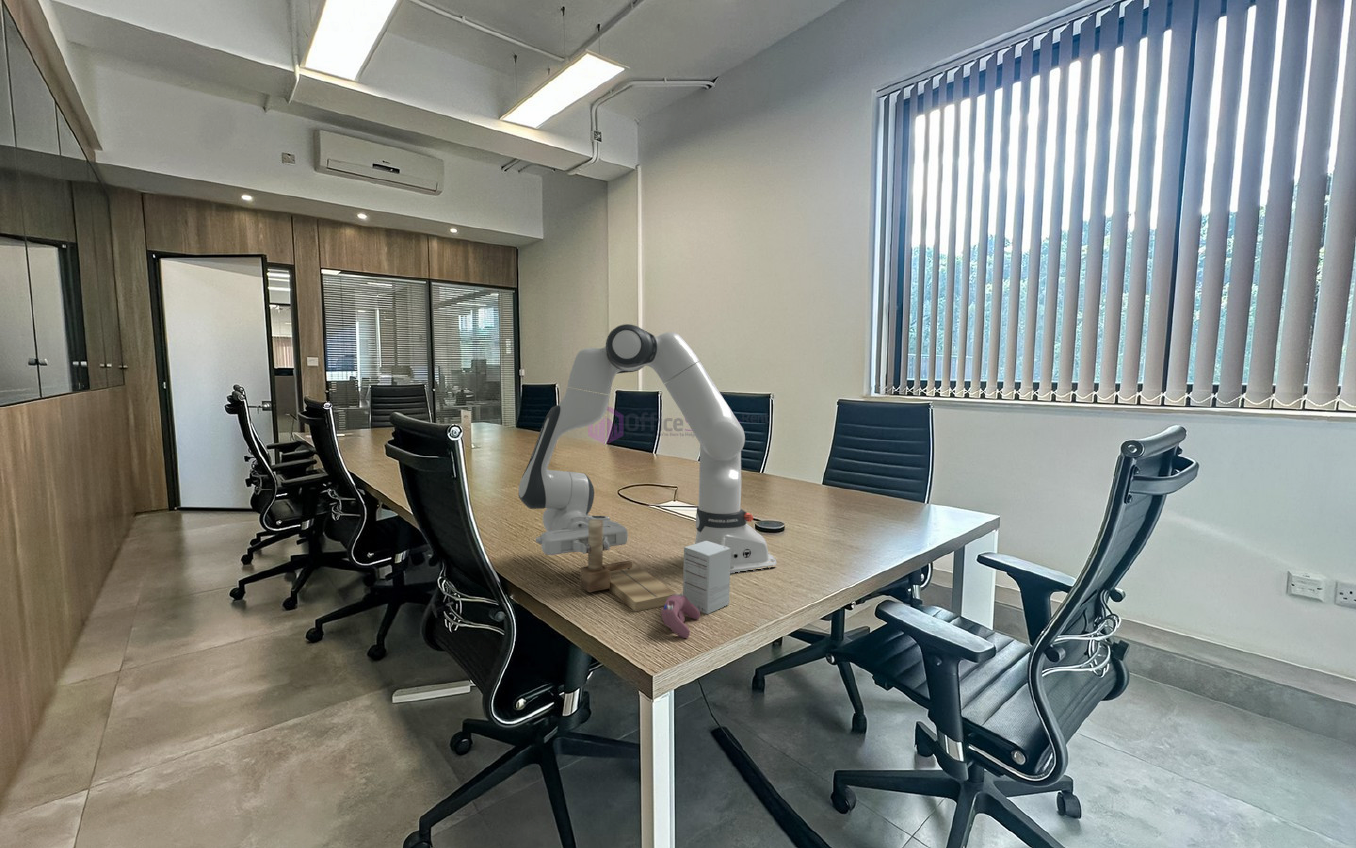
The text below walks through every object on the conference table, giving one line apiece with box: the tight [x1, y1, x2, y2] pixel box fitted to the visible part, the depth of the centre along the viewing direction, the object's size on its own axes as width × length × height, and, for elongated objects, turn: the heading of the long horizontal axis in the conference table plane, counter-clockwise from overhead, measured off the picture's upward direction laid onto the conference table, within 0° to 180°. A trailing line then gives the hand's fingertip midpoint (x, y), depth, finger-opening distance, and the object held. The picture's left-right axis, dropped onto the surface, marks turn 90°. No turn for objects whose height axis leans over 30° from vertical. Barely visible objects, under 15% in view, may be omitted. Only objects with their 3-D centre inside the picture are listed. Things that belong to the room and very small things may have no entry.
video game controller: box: [660, 592, 701, 639], centre depth 106 cm, size 10×5×7 cm, turn 164°
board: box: [607, 562, 678, 613], centre depth 124 cm, size 22×10×2 cm, turn 31°
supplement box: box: [682, 541, 731, 615], centre depth 116 cm, size 7×7×13 cm
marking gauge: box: [580, 519, 633, 593], centre depth 123 cm, size 11×5×15 cm, turn 120°
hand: (597, 548), depth 121 cm, fingers closed on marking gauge, 3 cm apart
